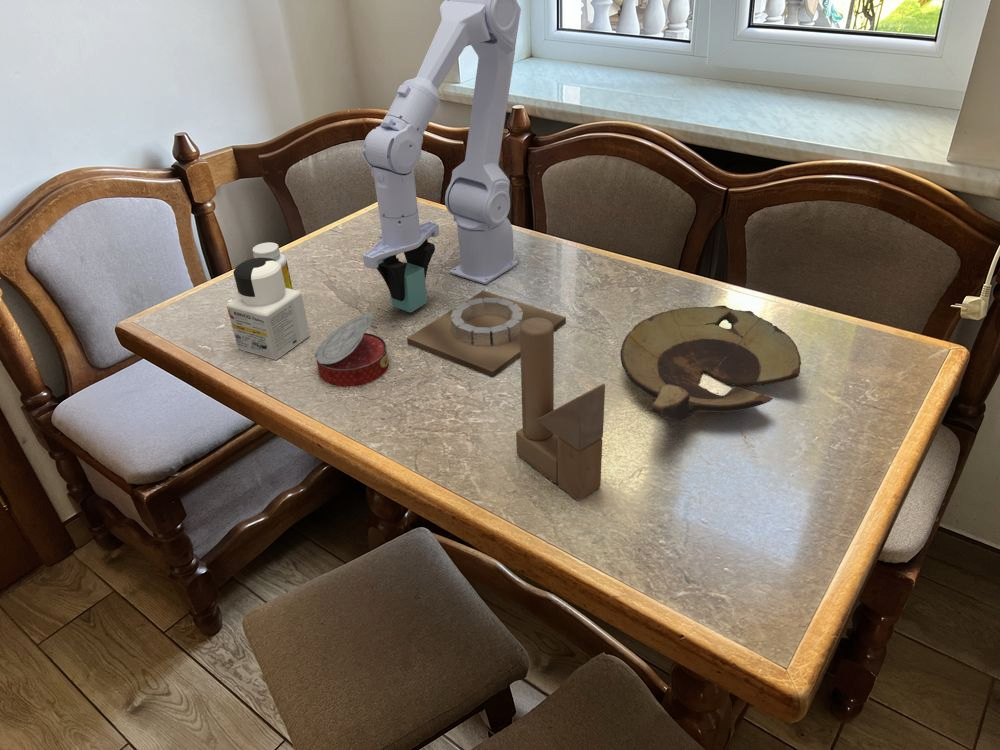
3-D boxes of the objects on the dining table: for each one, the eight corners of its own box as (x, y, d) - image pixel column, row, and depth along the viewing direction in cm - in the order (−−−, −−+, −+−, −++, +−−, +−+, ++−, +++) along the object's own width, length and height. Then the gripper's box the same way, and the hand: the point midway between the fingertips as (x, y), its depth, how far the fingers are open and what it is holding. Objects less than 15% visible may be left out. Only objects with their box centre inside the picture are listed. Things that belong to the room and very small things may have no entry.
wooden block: (578, 502, 85) (581, 364, 75) (515, 455, 92) (511, 323, 82) (602, 487, 86) (608, 351, 76) (539, 442, 94) (537, 312, 84)
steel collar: (481, 304, 121) (481, 291, 120) (536, 322, 116) (536, 309, 114) (437, 332, 114) (436, 319, 113) (493, 353, 109) (493, 340, 108)
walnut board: (483, 295, 126) (483, 290, 125) (565, 323, 117) (565, 317, 117) (407, 343, 114) (406, 337, 113) (493, 377, 106) (492, 371, 105)
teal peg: (409, 295, 125) (405, 261, 121) (427, 302, 123) (423, 267, 119) (391, 305, 122) (387, 271, 119) (410, 312, 120) (406, 277, 117)
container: (236, 349, 114) (215, 270, 107) (272, 325, 120) (254, 248, 113) (276, 361, 111) (257, 280, 104) (311, 336, 117) (295, 257, 110)
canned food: (366, 414, 108) (336, 379, 99) (317, 385, 112) (284, 349, 104) (414, 351, 111) (389, 313, 103) (364, 326, 116) (336, 287, 107)
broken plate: (831, 381, 102) (843, 331, 98) (680, 480, 87) (687, 426, 83) (698, 319, 117) (703, 273, 113) (549, 394, 102) (549, 345, 98)
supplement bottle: (301, 305, 125) (289, 247, 119) (270, 317, 122) (256, 258, 117) (286, 294, 129) (273, 237, 123) (255, 305, 126) (241, 247, 120)
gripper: (412, 190, 120) (420, 269, 128) (343, 221, 111) (357, 304, 119) (446, 199, 117) (453, 280, 124) (378, 232, 107) (390, 317, 115)
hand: (408, 293), depth 121 cm, fingers closed on teal peg, 4 cm apart
